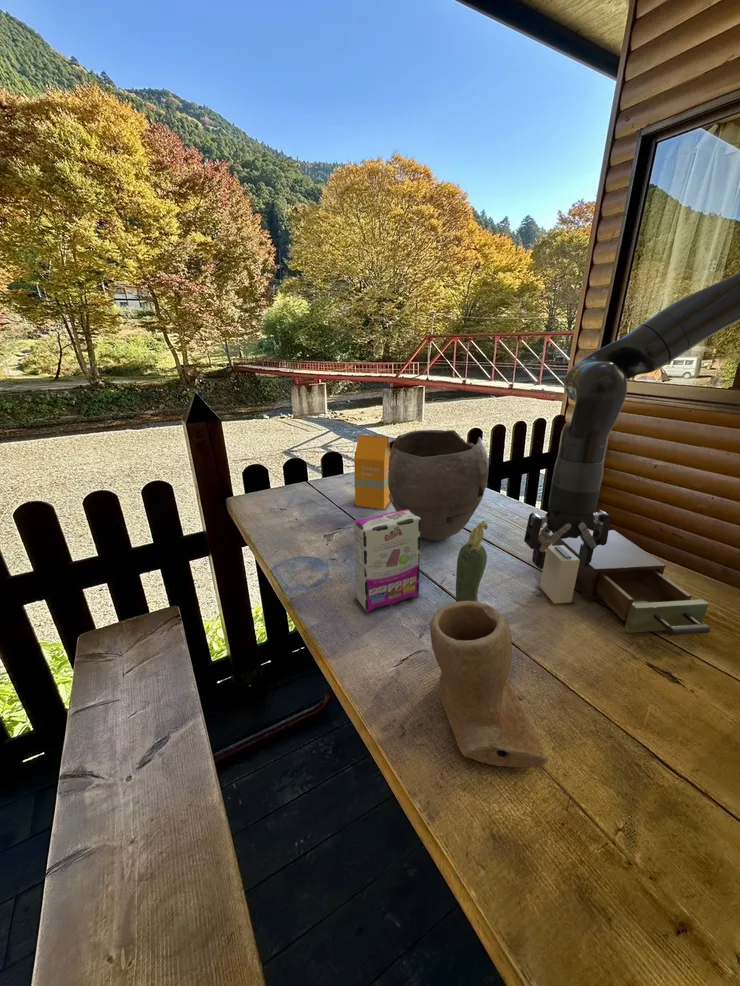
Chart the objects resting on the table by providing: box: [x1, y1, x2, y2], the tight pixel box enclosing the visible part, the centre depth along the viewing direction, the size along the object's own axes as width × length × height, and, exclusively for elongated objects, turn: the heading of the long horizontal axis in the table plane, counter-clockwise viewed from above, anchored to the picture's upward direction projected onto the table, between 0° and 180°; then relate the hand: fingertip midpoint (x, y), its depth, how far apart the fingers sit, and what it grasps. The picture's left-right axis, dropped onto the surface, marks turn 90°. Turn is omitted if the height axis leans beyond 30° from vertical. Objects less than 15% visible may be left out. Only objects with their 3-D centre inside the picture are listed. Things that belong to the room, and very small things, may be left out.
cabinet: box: [551, 529, 666, 601], centre depth 82 cm, size 15×14×7 cm
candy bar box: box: [353, 509, 421, 613], centre depth 74 cm, size 11×5×16 cm, turn 115°
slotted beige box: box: [539, 545, 580, 604], centre depth 76 cm, size 3×6×9 cm, turn 5°
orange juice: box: [353, 434, 391, 510], centre depth 117 cm, size 8×9×20 cm
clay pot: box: [388, 429, 490, 542], centre depth 96 cm, size 24×24×25 cm
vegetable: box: [455, 520, 489, 602], centre depth 65 cm, size 4×4×20 cm
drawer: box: [594, 570, 711, 636], centre depth 70 cm, size 18×12×5 cm
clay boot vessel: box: [429, 601, 549, 769], centre depth 50 cm, size 15×12×15 cm
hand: (560, 565), depth 76 cm, fingers open, 8 cm apart
